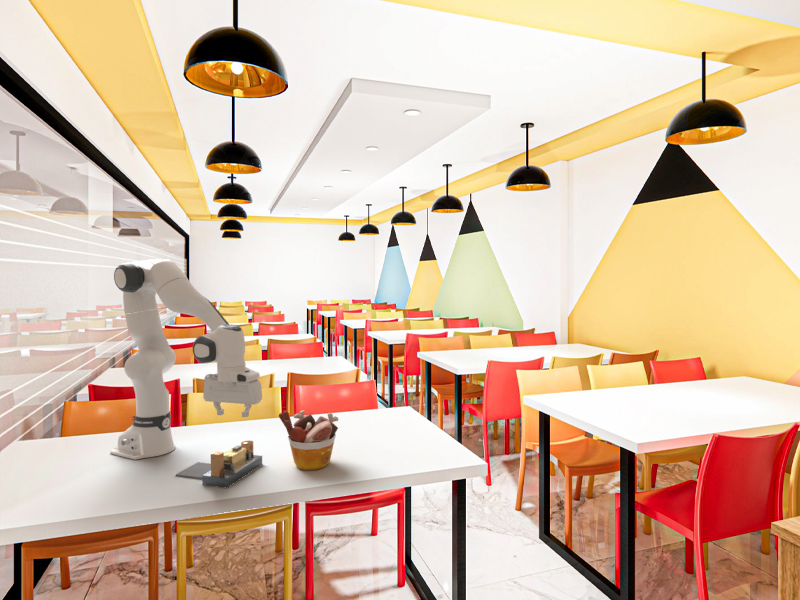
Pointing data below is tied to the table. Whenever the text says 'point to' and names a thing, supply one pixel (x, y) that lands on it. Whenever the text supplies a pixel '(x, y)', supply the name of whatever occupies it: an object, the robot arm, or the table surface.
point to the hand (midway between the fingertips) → (232, 415)
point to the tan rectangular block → (235, 455)
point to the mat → (195, 470)
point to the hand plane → (230, 468)
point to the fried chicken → (310, 439)
